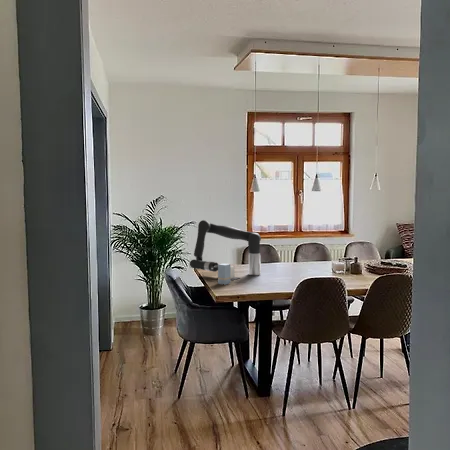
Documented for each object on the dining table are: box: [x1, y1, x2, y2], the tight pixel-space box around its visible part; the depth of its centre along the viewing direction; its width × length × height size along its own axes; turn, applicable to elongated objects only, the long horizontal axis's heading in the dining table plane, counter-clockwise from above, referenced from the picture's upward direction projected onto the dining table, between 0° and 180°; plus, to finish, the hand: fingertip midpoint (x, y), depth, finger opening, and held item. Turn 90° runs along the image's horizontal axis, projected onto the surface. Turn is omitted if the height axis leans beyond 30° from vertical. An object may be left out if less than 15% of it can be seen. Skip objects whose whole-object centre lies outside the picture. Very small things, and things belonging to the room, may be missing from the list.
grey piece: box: [217, 263, 232, 286], centre depth 336 cm, size 6×6×14 cm
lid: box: [230, 265, 236, 279], centre depth 354 cm, size 6×6×9 cm
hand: (227, 268), depth 354 cm, fingers open, 8 cm apart
